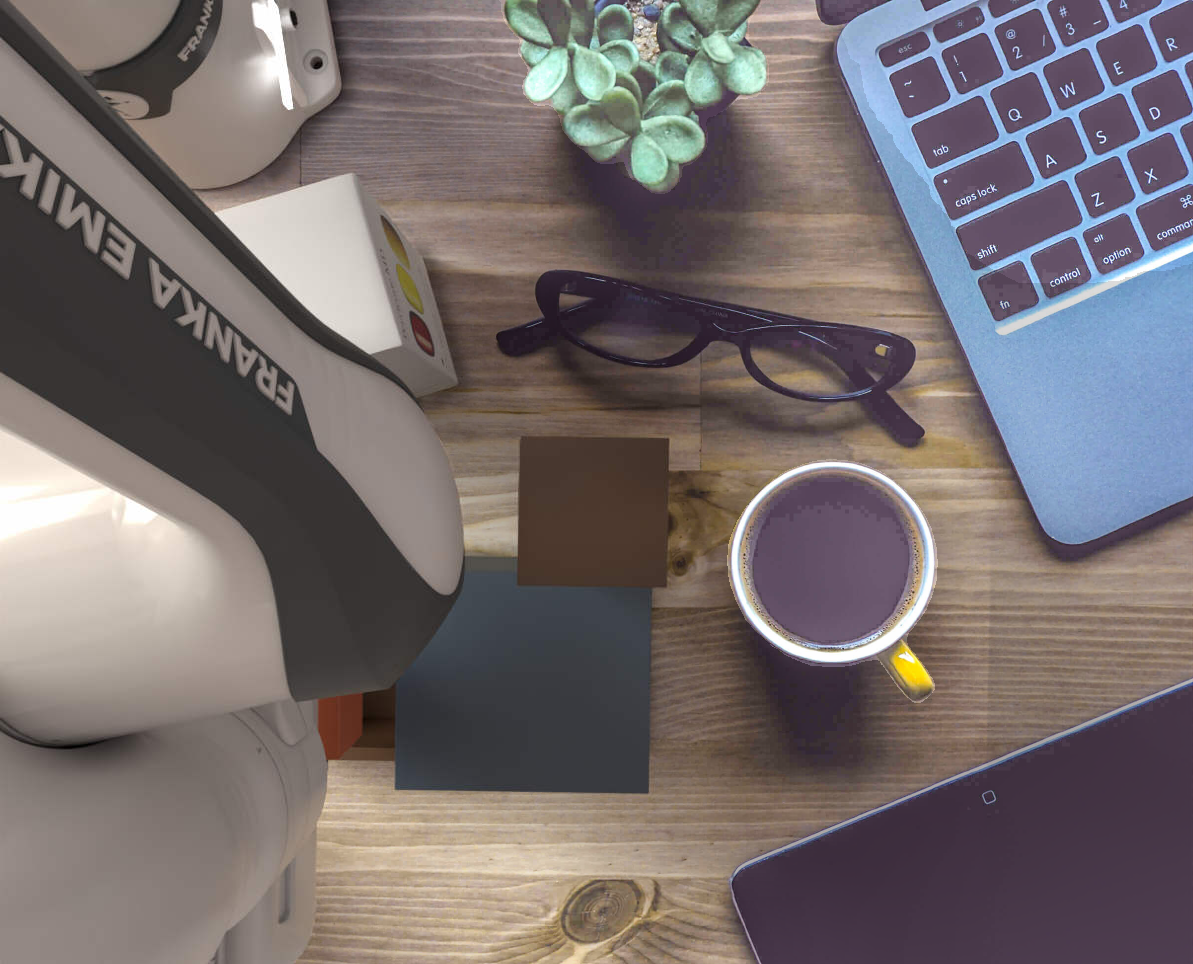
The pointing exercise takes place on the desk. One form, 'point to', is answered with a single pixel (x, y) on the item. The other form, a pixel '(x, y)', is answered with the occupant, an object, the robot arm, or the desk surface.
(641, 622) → the cabinet
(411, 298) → the supplement box
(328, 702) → the block
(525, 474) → the stand
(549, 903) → the desk surface
